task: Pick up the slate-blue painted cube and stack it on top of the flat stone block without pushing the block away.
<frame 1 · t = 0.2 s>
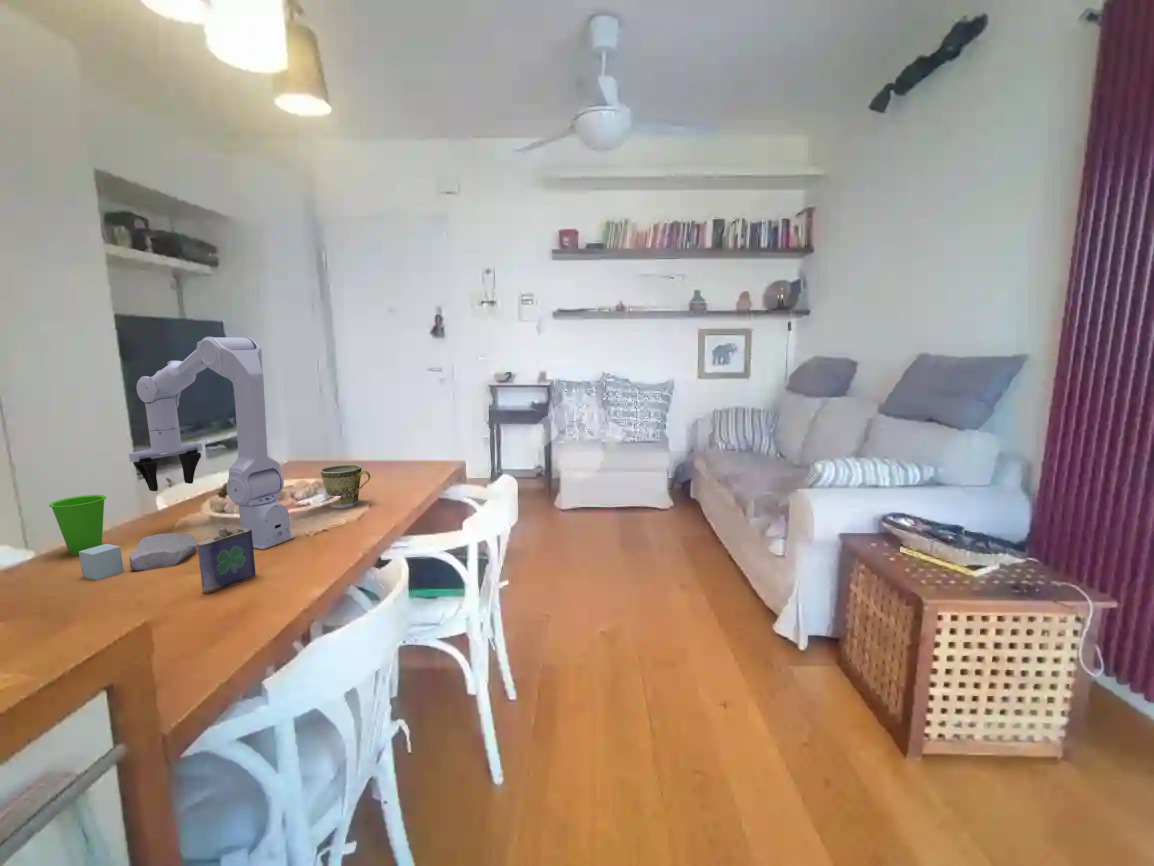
hand: (171, 486, 134), 10 cm above the table, tool pointing down, fingers open, 7 cm apart
cup: (86, 551, 121), on the table
stone block: (167, 560, 116), on the table
flask: (230, 584, 103), on the table
cube: (103, 574, 109), on the table
ceramic cup: (349, 506, 152), on the table
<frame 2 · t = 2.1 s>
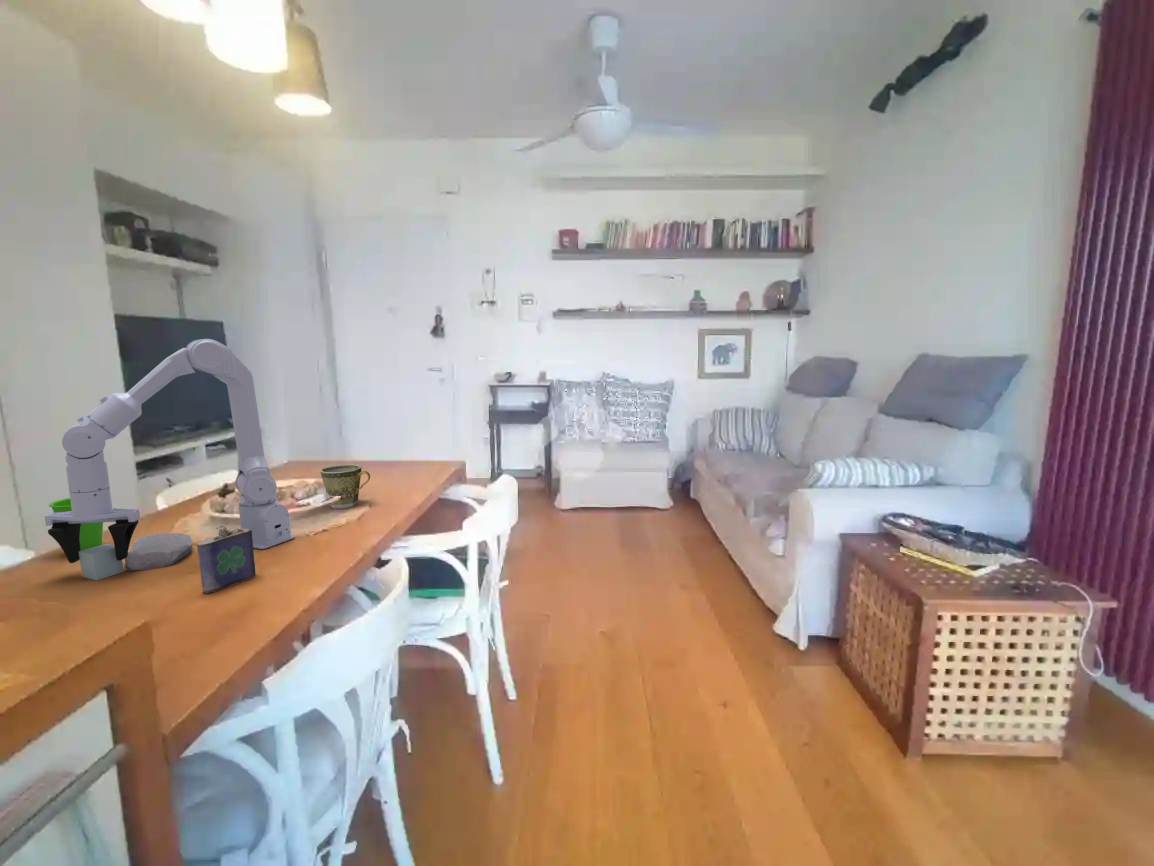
hand: (98, 559, 108), 3 cm above the table, tool pointing down, fingers open, 7 cm apart
stone block: (163, 560, 116), on the table, touching gripper
everything else where it was.
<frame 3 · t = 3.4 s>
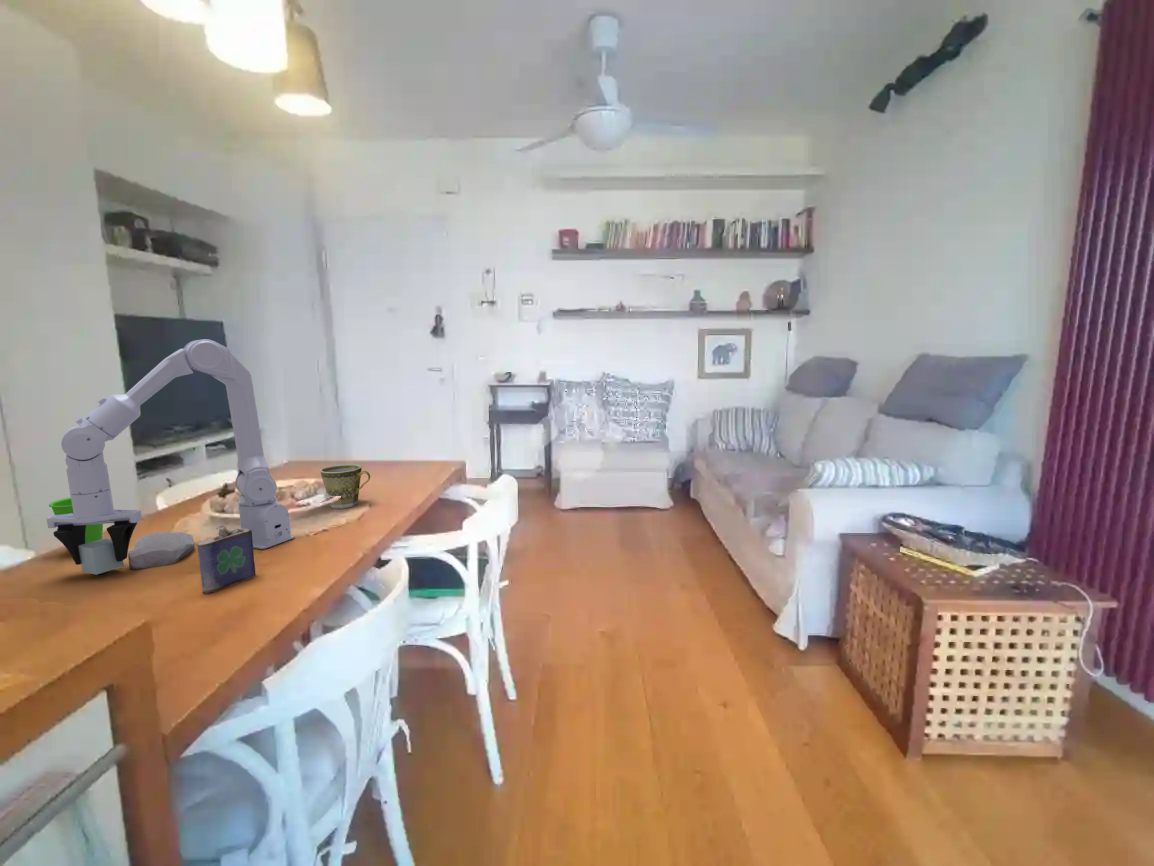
hand: (102, 561, 108), 2 cm above the table, tool pointing down, fingers closed on cube, 6 cm apart
stone block: (165, 558, 117), on the table
cube: (103, 568, 109), point 1 cm above the table, touching gripper
everything else where it was.
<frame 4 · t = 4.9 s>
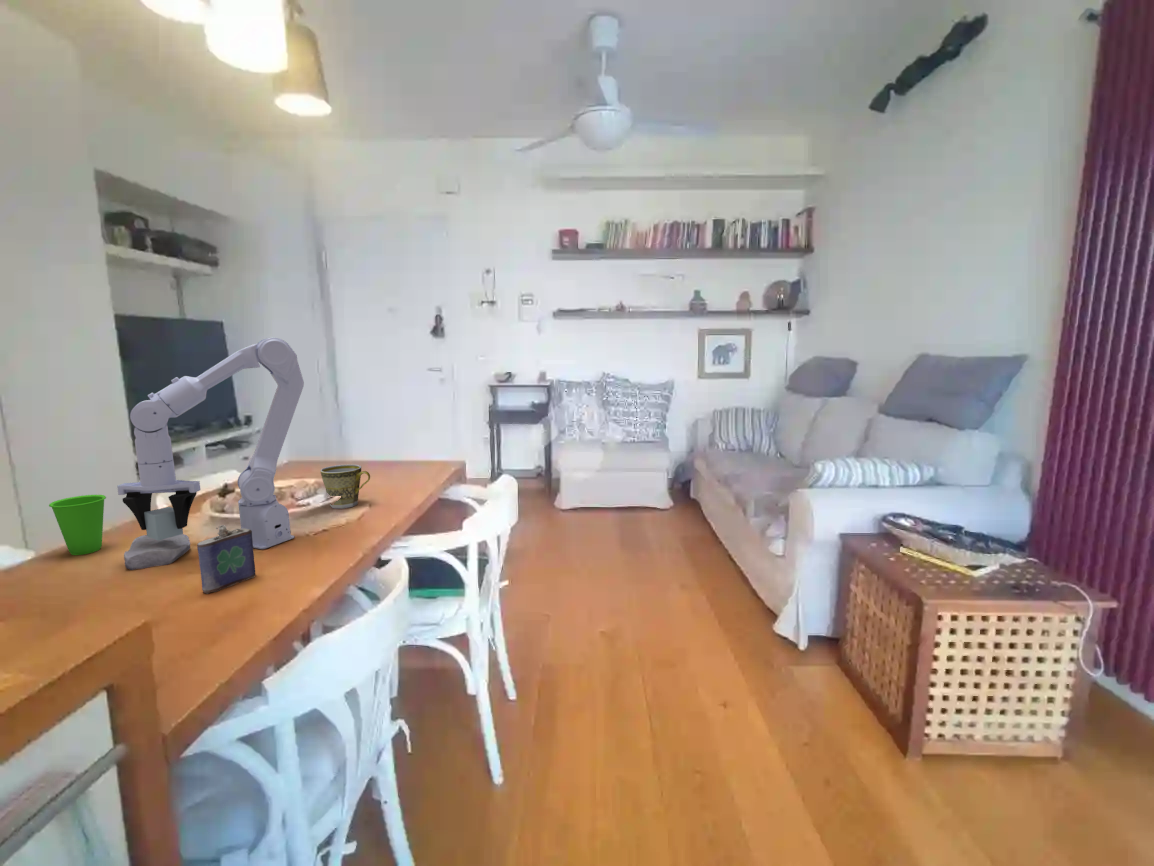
hand: (164, 527, 115), 6 cm above the table, tool pointing down, fingers closed on cube, 6 cm apart
cube: (165, 535, 116), point 5 cm above the table, touching gripper
everything else where it was.
when the fingers open (6 cm above the table, at t = 5.7 s): cube stays where it is, point 3 cm above the table.
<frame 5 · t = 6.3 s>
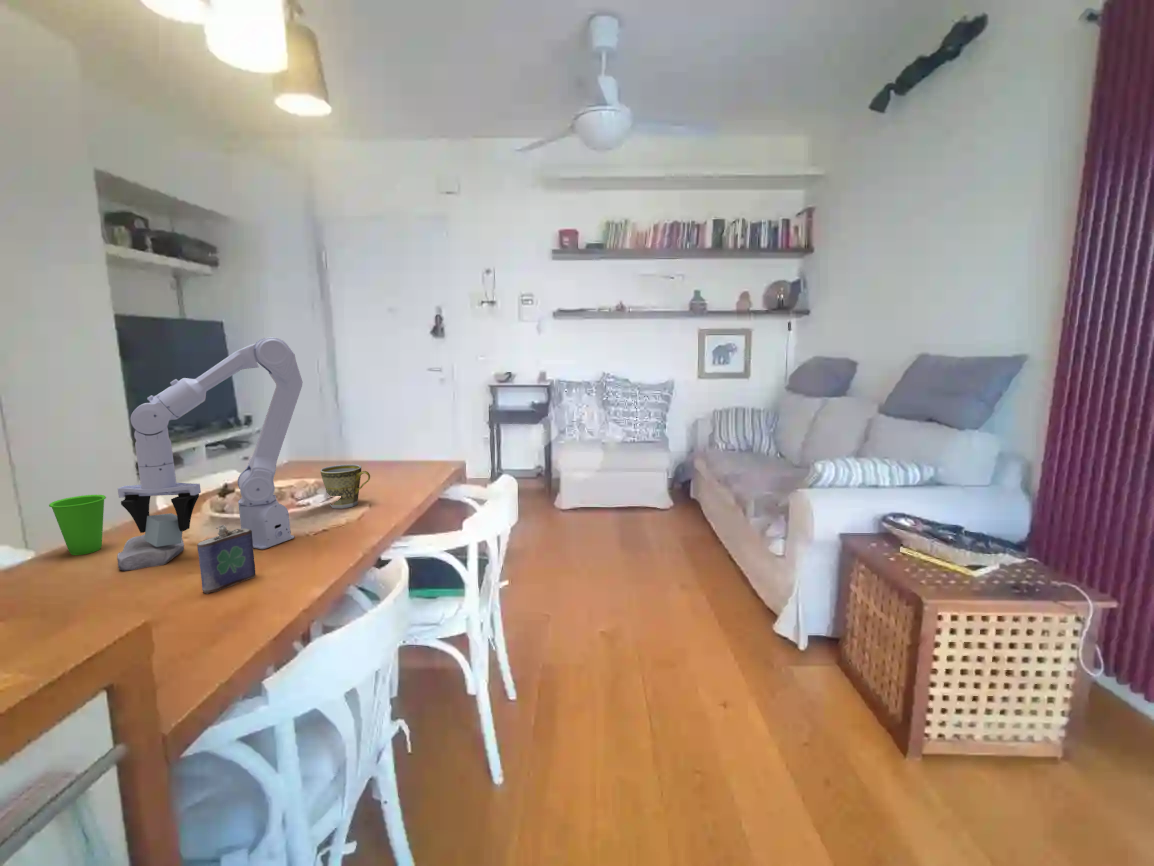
hand: (165, 530, 116), 6 cm above the table, tool pointing down, fingers open, 7 cm apart
stone block: (155, 560, 117), on the table
cube: (162, 541, 116), point 3 cm above the table, tilted 12°
everything else where it was.
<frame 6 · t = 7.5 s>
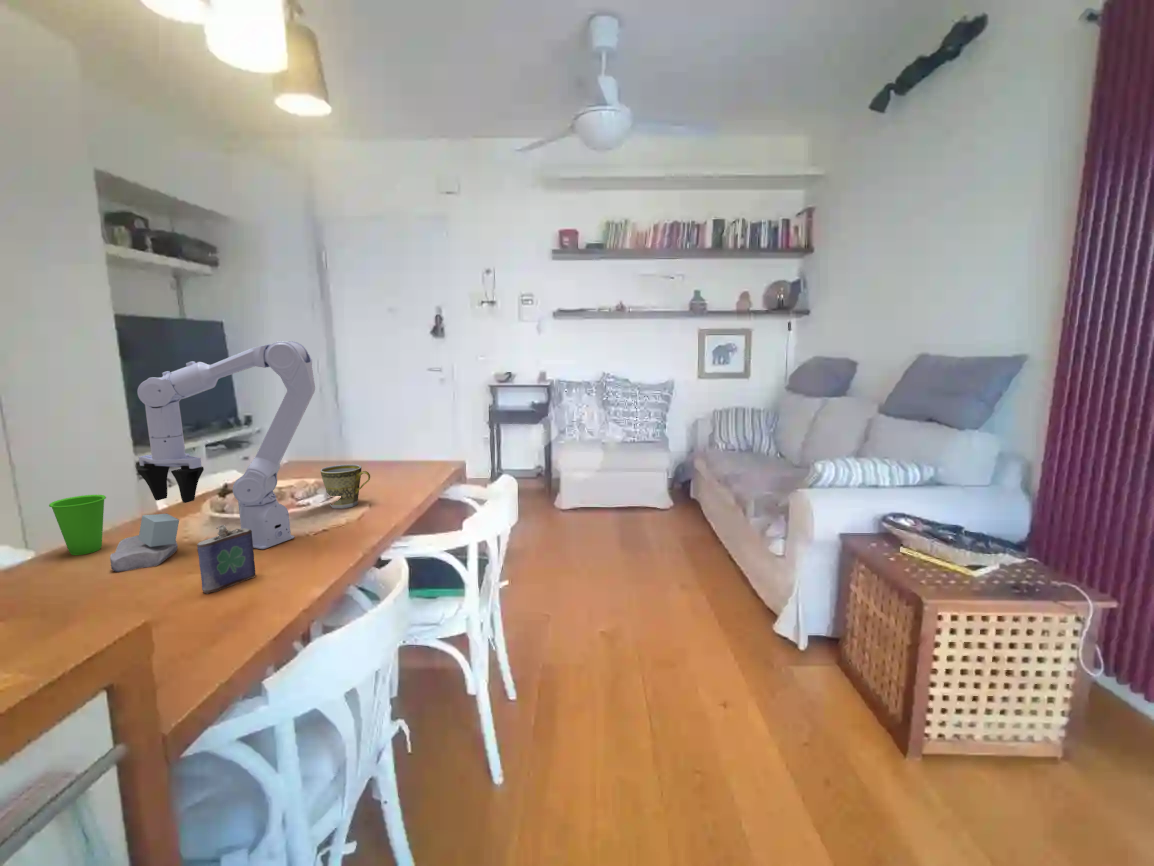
hand: (174, 500, 120), 10 cm above the table, tool pointing down, fingers open, 7 cm apart
stone block: (148, 561, 116), on the table, touching cube
cube: (156, 541, 116), point 3 cm above the table, tilted 14°, touching stone block
everything else where it was.
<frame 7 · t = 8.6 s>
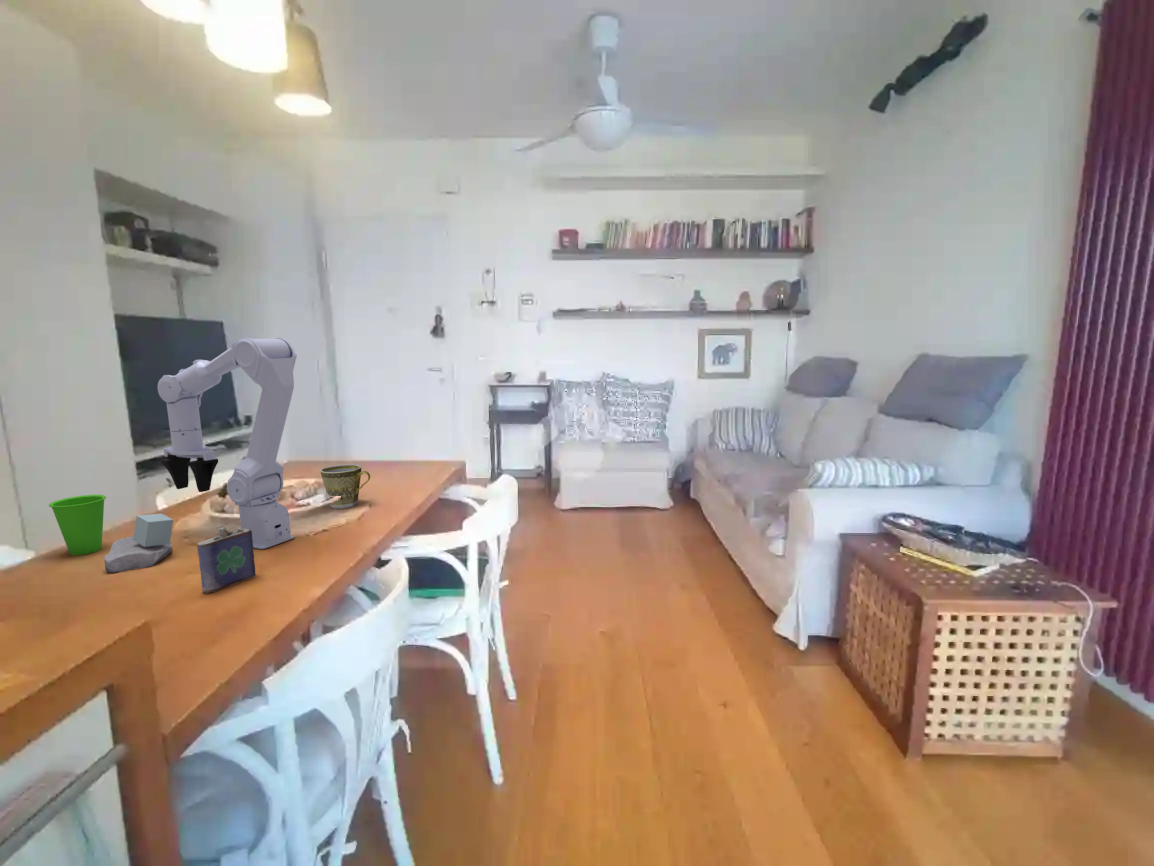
hand: (193, 489, 129), 10 cm above the table, tool pointing down, fingers open, 7 cm apart
cube: (151, 541, 116), point 3 cm above the table, tilted 13°, touching stone block
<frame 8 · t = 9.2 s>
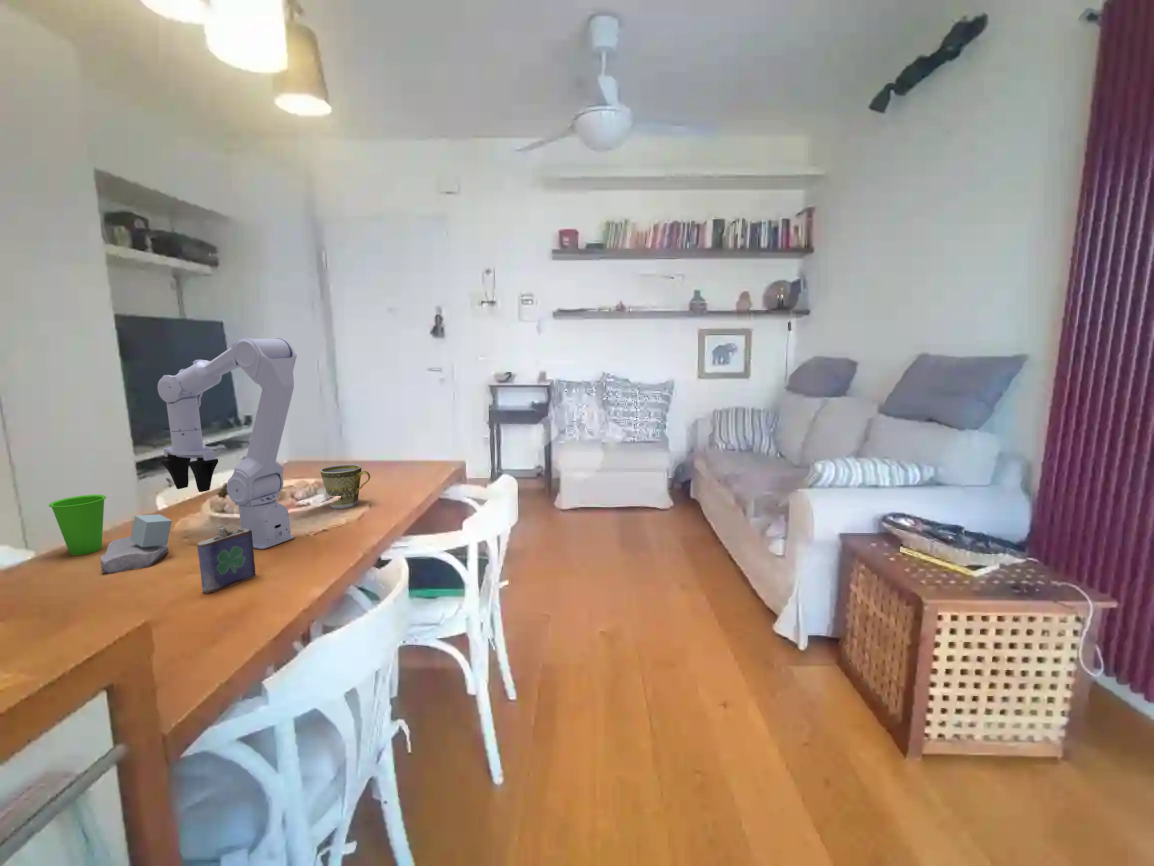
hand: (193, 489, 129), 10 cm above the table, tool pointing down, fingers open, 7 cm apart
at the end: cube inside the target area (3.4 cm from its centre), point 3.4 cm above the table; cube tilted 14°; cube 2.2 cm from the stone block (horizontally) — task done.
